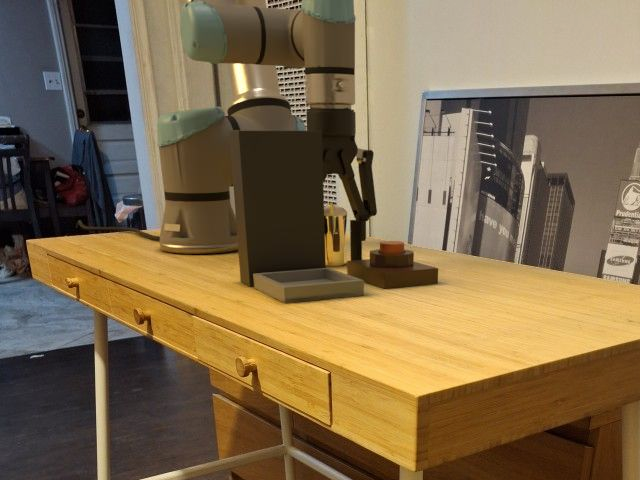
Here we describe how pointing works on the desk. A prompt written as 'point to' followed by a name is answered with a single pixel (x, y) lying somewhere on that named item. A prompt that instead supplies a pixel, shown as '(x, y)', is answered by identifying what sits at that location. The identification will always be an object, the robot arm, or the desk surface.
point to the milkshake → (334, 234)
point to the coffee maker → (283, 216)
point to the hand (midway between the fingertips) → (334, 263)
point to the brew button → (392, 247)
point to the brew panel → (392, 270)
